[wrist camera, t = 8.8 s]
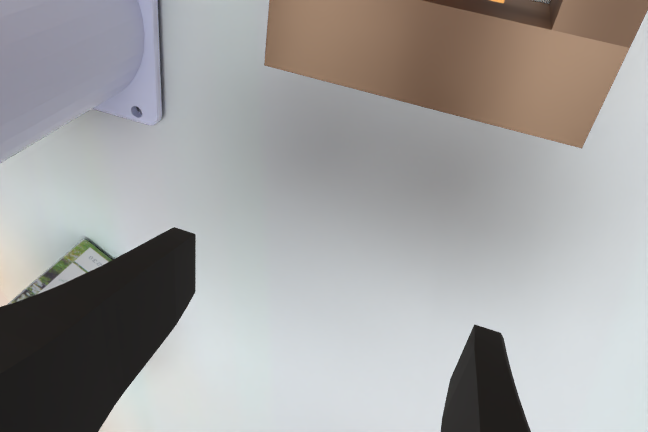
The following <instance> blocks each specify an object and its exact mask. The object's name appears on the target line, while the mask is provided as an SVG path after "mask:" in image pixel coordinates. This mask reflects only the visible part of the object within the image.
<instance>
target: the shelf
mask: <svg viewBox="0 0 648 432" xmlns="http://www.w3.org/2000/svg"><path fill="white" fill-rule="evenodd" d="M647 10H648V0H551V1H550V3H549V4H546V3H541V2H537V1H532V0H505V1H504V3H499V2H495V1H490V0H269V13H268V25H267V38H266V51H265V64H264V65H265V66H269V67H273V68H277V69H280V70H284V71H288V72H292V73H296V74H299V75H303V76H307V77H311V78H315V79H319V80H322V81H326V82H330V83H334V84H338V85H342V86H345V87H349V88H353V89H357V90H361V91H365V92H368V93H372V94H376V95H380V96H384V97H387V98H391V99H395V100H399V101H403V102H407V103H410V104H414V105H418V106H422V107H426V108H430V109H433V110H437V111H441V112H445V113H449V114H453V115H456V116H460V117H464V118H468V119H472V120H475V121H479V122H483V123H487V124H491V125H495V126H498V127H502V128H506V129H510V130H514V131H518V132H521V133H525V134H529V135H533V136H537V137H540V138H544V139H548V140H552V141H556V142H560V143H563V144H567V145H571V146H575V147H579V148H582V147H583V145H584V142H585V140H586V138H587V136H588V134H589V132H590V130H591V128H592V126H593V124H594V122H595V119H596V117H597V115H598V113H599V111H600V109H601V107H602V105H603V103H604V101H605V98H606V96H607V94H608V92H609V90H610V88H611V86H612V84H613V82H614V80H615V77H616V75H617V73H618V71H619V69H620V67H621V65H622V63H623V61H624V59H625V57H626V54H627V52H628V50H629V48H630V46H631V44H632V42H633V40H634V38H635V36H636V33H637V31H638V29H639V27H640V25H641V23H642V21H643V19H644V17H645V15H646V12H647Z"/></svg>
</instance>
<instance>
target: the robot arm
mask: <svg viewBox="0 0 648 432" xmlns="http://www.w3.org/2000/svg"><path fill="white" fill-rule="evenodd" d="M136 106H137V107H139V108H140V110H141V111H142V114H141V113H139V111H138V110H137V108H136ZM91 109H95V110H98V111H102V112H105V113H109V114H112V115H115V116H119V117H122V118H126V119H129V120H133V121H136V122H139V123H143V124H146V125H155V124H156V123H158V122H159V121H160V120H161V118H162V102H161V76H160V50H159V24H158V0H0V163H2V162H3V161H5V160H7V159H8V158H10V157H12V156H13V155H15V154H17V153H18V152H20V151H22V150H23V149H25V148H27V147H28V146H30V145H32V144H34V143H35V142H37V141H39V140H40V139H42V138H44V137H45V136H47V135H49V134H50V133H52V132H54V131H55V130H57V129H59V128H60V127H62V126H64V125H65V124H67V123H69V122H70V121H72V120H74V119H75V118H77V117H79V116H80V115H82V114H84V113H85V112H87V111H89V110H91ZM194 293H195V234H193V233H190V232H187V231H184V230H181V229H178V228H175V227H174V228H172V229H170V230H168V231H166V232H164V233H162V234H160V235H158V236H157V237H155V238H153V239H151V240H149V241H147V242H145V243H144V244H142V245H140V246H138V247H136V248H134V249H133V250H131V251H129V252H127V253H125V254H123V255H121V256H119V257H117V258H115V259H114V260H112V261H110V262H108V263H106V264H104V265H102V266H100V267H98V268H96V269H94V270H91V271H89V272H87V273H85V274H83V275H81V276H79V277H76V278H74V279H72V280H70V281H68V282H66V283H64V284H61V285H59V286H57V287H54V288H52V289H49V290H47V291H44V292H42V293H39V294H36V295H34V296H31V297H28V298H26V299H23V300H20V301H18V302H15V303H12V304H8V305H5V306H2V307H0V432H98V431H99V429H100V428H101V426H102V425H103V423H104V421H105V420H106V418H107V417H108V415H109V413H110V412H111V410H112V409H113V407H114V406H115V404H116V403H117V401H118V400H119V399H120V397H121V396H122V394H123V393H124V392H125V390H126V389H127V388H128V386H129V385H130V384H131V382H132V381H133V380H134V379H135V377H136V376H137V375H138V374H139V372H140V371H141V370H142V368H143V367H144V366H145V365H146V363H147V362H148V361H149V359H150V358H151V357H152V356H153V354H154V353H155V352H156V350H157V349H158V348H159V347H160V345H161V344H162V343H163V341H164V340H165V339H166V337H167V336H168V335H169V334H170V332H171V331H172V330H173V328H174V327H175V326H176V324H177V323H178V321H179V319H180V318H181V316H182V314H183V313H184V311H185V309H186V307H187V306H188V304H189V302H190V300H191V299H192V297H193V295H194ZM441 432H531V431H530V428H529V426H528V423H527V420H526V417H525V414H524V411H523V408H522V405H521V402H520V399H519V396H518V393H517V390H516V386H515V383H514V379H513V376H512V372H511V369H510V365H509V361H508V357H507V352H506V348H505V343H504V338H503V336H502V335H501V333H499V332H496V331H493V330H490V329H487V328H484V327H480V326H477V325H474V327H473V329H472V331H471V334H470V336H469V338H468V340H467V343H466V345H465V347H464V350H463V352H462V354H461V356H460V359H459V361H458V363H457V365H456V368H455V370H454V372H453V374H452V377H451V379H450V383H449V388H448V393H447V397H446V402H445V407H444V412H443V417H442V425H441Z"/></svg>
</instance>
